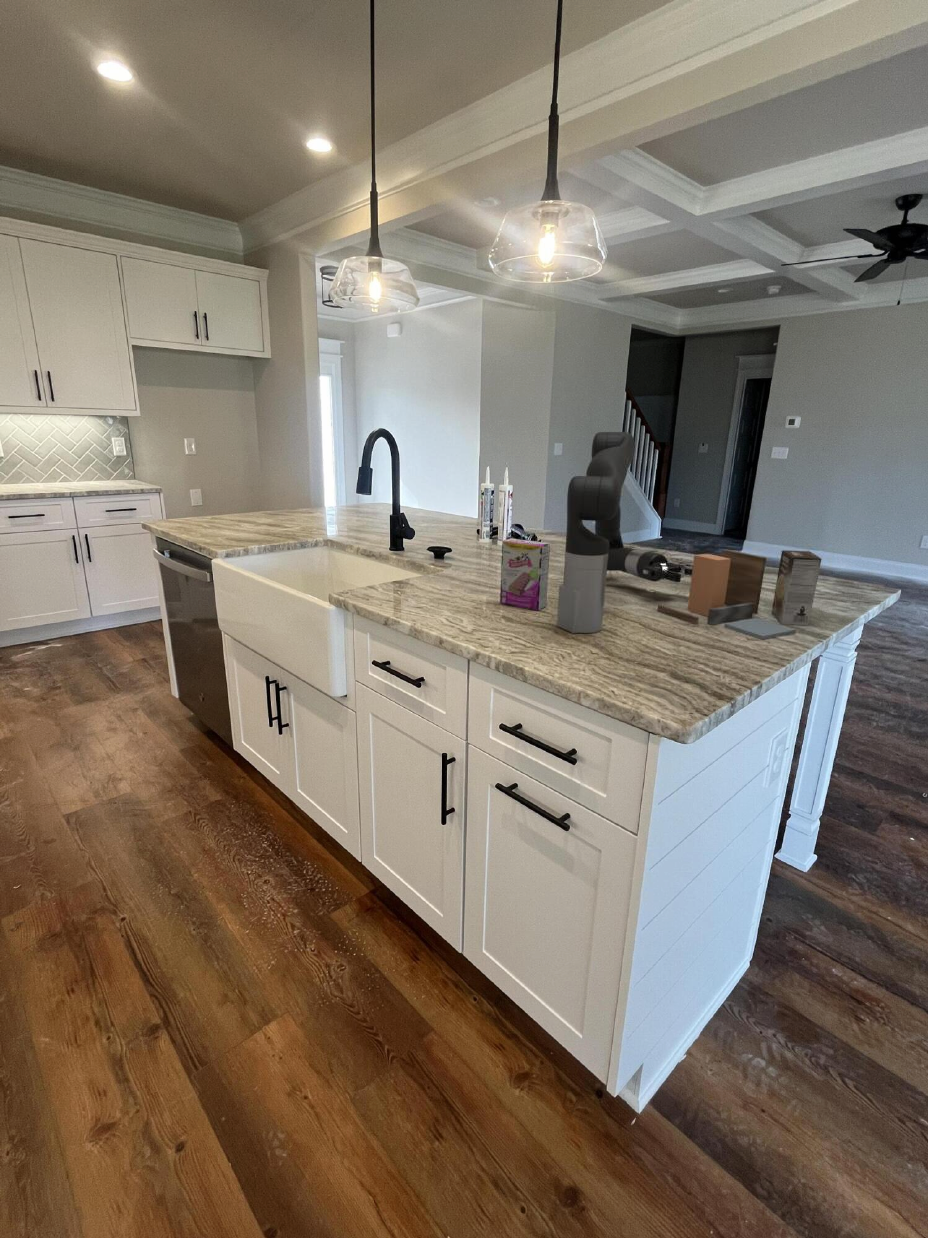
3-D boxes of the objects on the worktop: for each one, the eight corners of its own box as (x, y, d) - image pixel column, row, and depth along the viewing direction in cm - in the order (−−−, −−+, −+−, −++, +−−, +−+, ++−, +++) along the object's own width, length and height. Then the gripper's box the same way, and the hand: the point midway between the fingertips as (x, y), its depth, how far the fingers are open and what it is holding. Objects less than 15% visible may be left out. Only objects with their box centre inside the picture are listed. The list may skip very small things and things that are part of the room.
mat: (762, 639, 131) (763, 636, 130) (724, 626, 139) (724, 623, 139) (795, 633, 135) (796, 629, 135) (756, 621, 144) (757, 617, 144)
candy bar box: (498, 604, 155) (501, 540, 150) (508, 600, 159) (510, 537, 154) (538, 611, 149) (542, 545, 144) (547, 607, 153) (551, 542, 148)
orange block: (709, 617, 146) (717, 560, 142) (687, 610, 152) (694, 555, 148) (722, 615, 148) (730, 558, 144) (700, 608, 154) (707, 553, 150)
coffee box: (769, 613, 151) (780, 549, 146) (797, 615, 149) (809, 550, 145) (780, 624, 142) (792, 556, 137) (810, 626, 141) (823, 558, 136)
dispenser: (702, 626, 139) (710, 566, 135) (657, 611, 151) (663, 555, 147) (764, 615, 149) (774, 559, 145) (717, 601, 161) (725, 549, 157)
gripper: (627, 553, 162) (673, 564, 148) (666, 549, 168) (714, 559, 155) (624, 580, 164) (669, 594, 150) (663, 575, 170) (710, 588, 157)
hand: (692, 576), depth 153 cm, fingers open, 8 cm apart
